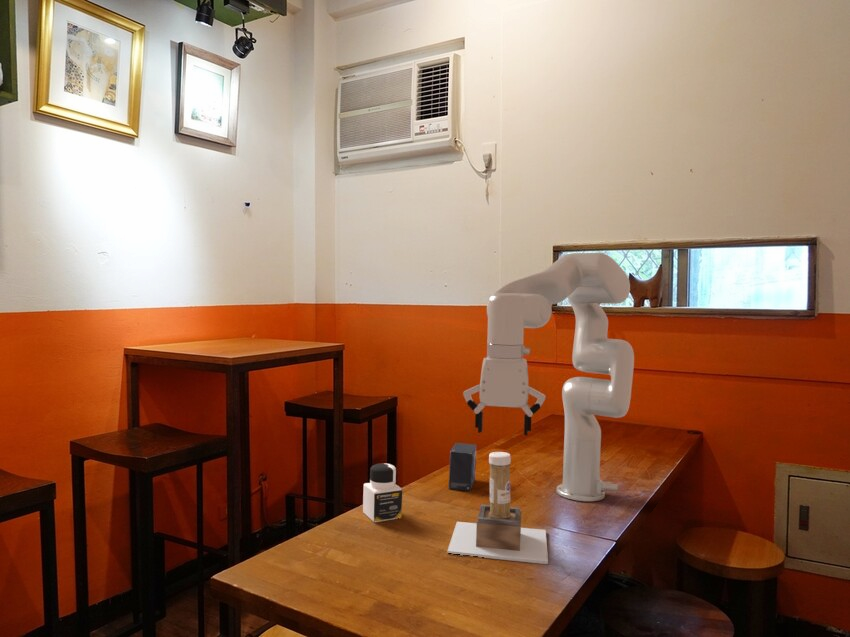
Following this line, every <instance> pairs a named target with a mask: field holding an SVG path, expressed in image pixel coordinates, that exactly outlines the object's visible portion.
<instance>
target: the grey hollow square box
mask: <svg viewBox="0 0 850 637" xmlns="http://www.w3.org/2000/svg"><path fill="white" fill-rule="evenodd" d="M510 514H511V516H510V517H509V518H507V519H496V518H492V517H491V516H490V504H481V503H480V507H479V512H478V515H477V519H476V523H477V529H476V547H485V548H495V549H505V550H515V551H520V536H521V528H522V527H521V526H522V511H521V507H517V506H513V507H512V506H510Z"/></svg>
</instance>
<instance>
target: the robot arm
mask: <svg viewBox="0 0 850 637" xmlns="http://www.w3.org/2000/svg"><path fill="white" fill-rule="evenodd" d="M630 283H631V282H630V279H629V277H628V275H627V273H626V271H624V270H623V268H622V267H621V266H620V265H619V264H618V263H617V262H616V260H615V259H613V258H612V257H611V256H609V255H608V254H606V253H603V252H582V253H581V252H579V253H578V252H577V253H575V252H574V253H567V254H564V255H563V256H561V257H560V258H558V259H557V260H555V261H554V262H553V263H552V264H550V265H549V266H548V267H546V268H545V269H544V270H542V271H540V272H538V273H533V274H531V275H528V276H525V277H522V278H519V279H516V280H514V281H511V282H509V283H507V284H504V285H503V286H502V287H501V288H499V289H498V290H497V291H495V292H494V293H493V294H492V295H491V296H489V299H488V302H487V305H486V315H487V338H486V339H487V342H486V343H487V344H486V347H487V348H486V357H484V358H483V360H482V363H481V364H482V366H481V371H480V372H481V373H480V381H479V384H477V385H475V386H473V387H470V388H468V389H466V390H464V391H463V392H462V395H463V397H464V399H465V402H466V404H467V406H468V407H469V409H471V410H472V411H473V413H474V414H475V416H474V422H475V423H474V428H475V429H477V433H479V434H480V433H482V432H483V429H484V428H483V422H484V419H483V418H484V413H483V411H482V410H483V409H484V408H485V407H486V406H489V407H503V408H504V407H506V408H520V409H522V411H523V412H524V413H525V414H524V422H523V423H524V426H523V430H524V431H523V435H524V436H526V437H528V432H531V431H532V417H533V415H535V414H537V412H538V411H539V410H540V409H541V407H542V405H543V404H544V402H545V400H546V399H547V398H546V395H545V394H544V393H541V392H540V391H538V390H537V389H534V388H533V387H531V386H529V370H528V362H527V359H526V358H523V357H524V356H525V355H526V356H527V355H530V352H531V348H530V347H526V346H525V345H524V333H525V331H524V329H538V328H542V327H543V326H545V325H547V323H549V321H550V319H551V317H552V311H553V310H552V305H555V304H560V303H561V302H563V301H565V300H566V299H568V301H569V304H570V306H571V308H572V309H573V313H574V316H575V329H574V330H575V331H574V335H573V336H574V338H573V345H572V346H573V347H572V354H571V355H572V356H571V357H572V359H571V360H572V365H573V367H574V368H575V369H576V370H578V371H580V372H584V373H588V374H589V373H590V374H600V375H608V376H610V379H604V378H603V379H602V378H595V377H588V376H587V377H586V376H575V377H571V378H569V379H567V380H566V381H565V382H564V384H563V386H562V391H561V397H562V404H563V410H564V437H563V438H564V439H563V440H564V441H563V442H564V443H563V461H562V462H563V463H562V464H563V465H562V466H563V468H562V483H560V484H559V485H557V487H556V494H558V495H559V496H561V497H563V498H565V499H569V500H573V501H577V502H597V501H602V500H603V499H604V498H605V497H606V491H610V492H616V493H617V492H618V490H619V489H618V488H619V487H618V484H617V483H612V481H603V480H602V478H601V477H600V474H601V472H600V471H601V442H602V429H601V426H600V424H599V421H598V420H597V418H596V416H602V417H607V418H615V419H619V418H623V417H625V416H626V415H627V414H628V411H629V408H630V405H631V399H632V387H633V378H634V377H633V376H634V368H635V353H634V348H633V347H632V345H631V344H630V343H629V342H628V341H627V340H624V339H618V338H608V329H609V319H608V316H607V314H606V312H605V311H604V310H603V308H602V306H600V304H607V305H608V304H609V305H610V304H612V305H613V304H614V305H615V304H616V305H618V304H621V303H624V302H625V301H626V300H627V299H628V297H629V295H630V292H631V284H630ZM476 393H479V403H478V404H477V403H476V401H474V400H473V398H472V395H474V394H476ZM529 395H531V396H532V397H534V398H536V399H537V400H536V402H535V403H534V404H533V405H532V406H530V405H529V404H528V402H529Z"/></svg>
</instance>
